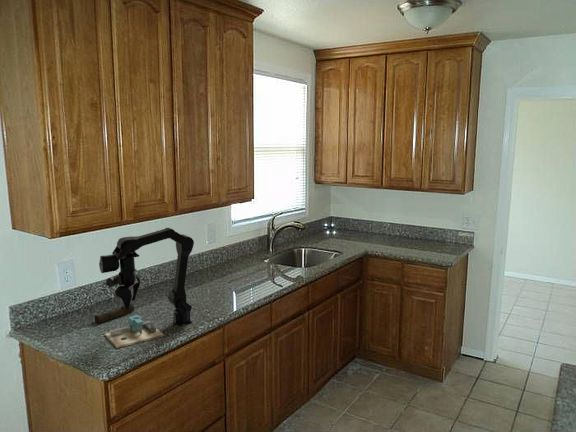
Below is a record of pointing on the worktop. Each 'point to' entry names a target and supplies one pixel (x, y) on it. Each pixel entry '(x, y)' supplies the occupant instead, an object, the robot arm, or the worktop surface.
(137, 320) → the sliding leg
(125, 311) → the hand tool
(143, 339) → the template board
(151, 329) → the fixed leg
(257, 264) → the worktop surface
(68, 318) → the worktop surface
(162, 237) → the robot arm
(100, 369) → the worktop surface
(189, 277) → the worktop surface
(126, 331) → the rail
